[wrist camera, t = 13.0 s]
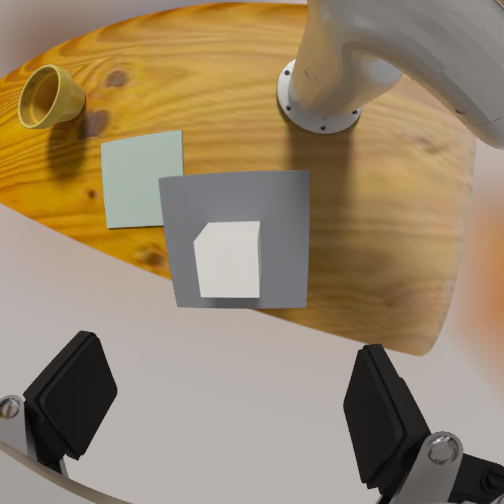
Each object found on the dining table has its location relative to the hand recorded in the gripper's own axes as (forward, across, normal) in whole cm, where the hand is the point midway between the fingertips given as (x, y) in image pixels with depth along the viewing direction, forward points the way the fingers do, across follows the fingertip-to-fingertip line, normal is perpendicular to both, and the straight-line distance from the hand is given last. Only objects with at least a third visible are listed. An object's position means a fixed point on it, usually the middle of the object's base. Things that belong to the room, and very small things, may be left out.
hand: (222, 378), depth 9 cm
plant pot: (+33, +32, -21) cm, 50 cm away
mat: (+32, +17, -6) cm, 37 cm away
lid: (+18, +1, 0) cm, 18 cm away
